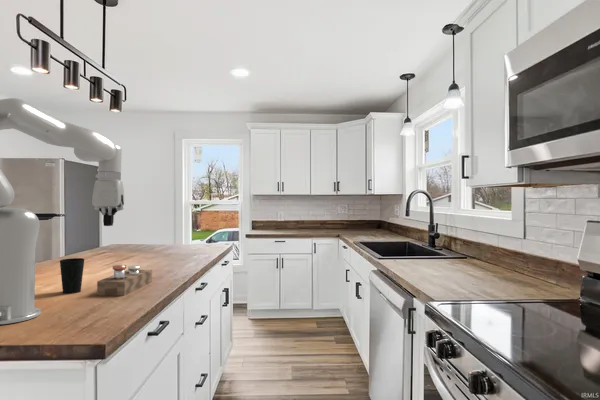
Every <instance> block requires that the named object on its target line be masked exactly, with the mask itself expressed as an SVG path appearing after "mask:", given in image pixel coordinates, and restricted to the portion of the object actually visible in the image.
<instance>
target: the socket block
mask: <svg viewBox="0 0 600 400" xmlns="http://www.w3.org/2000/svg"><path fill="white" fill-rule="evenodd" d="M152 282H153V269H139V273H137V274H131V273H129V270H128V269H127V270H125V279H122V280H114V274H113V275H111V276H108V277H105V278H102V279H99V280H97V283H96V284H97V285H96V286H97V287H96V288H97V289H96V296H121V297H122V296H126V295H129V294H131V293H133V292H135V291H137V290H139V289H141V288H143V287H145V286H146V285H148V284H150V283H152ZM144 285H145V286H144Z"/></svg>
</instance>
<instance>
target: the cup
mask: <svg viewBox="0 0 600 400" xmlns="http://www.w3.org/2000/svg"><path fill="white" fill-rule="evenodd" d="M84 266H85V258H83V257H82V258H81V257H79V258H78V257H73V258H72V257H71V258H65V259H60V260H59V267H60V275H61V276H60V277H61V287H62V288H61V289H62V293H63V294H64V295H72V294H77V293H80V292H81V291H82V285H83V284H82V282H83V276H84V275H83V273H84Z"/></svg>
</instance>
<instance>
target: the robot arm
mask: <svg viewBox="0 0 600 400" xmlns="http://www.w3.org/2000/svg"><path fill="white" fill-rule="evenodd" d="M11 129H13V130H16V131H18V132H21V133H23V134H26V135H28V136H29V137H33V138H34V139H36V140H39V141H41V142H43V143H45V144H47V145H50V146H56V147H65V148H71V149H73V153H74V155H75V157H76V158H77V159H79V160H80V161H82V162H86V163H87V162H89V163H90V162H93V163H94V162H97V163H98V170H97V171H98V172H97V173H96V174H95V178H97V180H96V179H95V182H94V185H93V190H92V199H91V200H92V202H91V204H92V206H93V209H94V210H95V211H98V212H100V213H101V216H103V220H102V221H103V222H102V223H103V226H104V227H112V226H114V219H115V218H114V217H115V215H116V213H118V212H119V211H123V210H124V205H125V188H124V184H123V181H122V180H121V179H122V155H123V154H122V151H123V150H122V147H121V146H119V145H117V144H114V143H113V141H112V140H110V139H108V138H107V137H105V136H104V135H101V134H100V133H98V132H96V131H94V130H91V129H89V128H86V127H83V126H79V125H76V124H73V123H70V122H66V121H63V120H61V119H59V118H57V117H55V116H54V115H51V114H49V113H48V112H46V111H44V110H42V109H41V108H39V107H37V106H35V105H33V104H31V103H30V102H27V101H25V100H23V99H19V98H16V97H11V98H10V97H9V98H3V99H0V131H2V130H11ZM15 196H16V195H15V190H14V188H13V186H12V184H11V183H10V181H9V180H8V178H7V177H6V175H5V174H4V172H3V170H2V169H1V168H0V325H8V324H13V323H14V324H17V323H19V322H24V321H28V320H31V319H33V318H36V317H38V316H40V314H41V313H42V308H39V307H36V306H35V302H36V301H35V300H36V299H35V295H36V293H35V292H36V290H35V286H36V249H37V248H36V247H37V246H36V245H37V240H38V238H39V233H40V228H41V227H40V226H41V225H40V224H41V223H40V220H39V217H38V216H37V215H36V214H35V213H34V212H33V211H31V210H29V209H26V208H22V207H9V205H11V203H13V202H14V200H15ZM7 206H8V207H7Z"/></svg>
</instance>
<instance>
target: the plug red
mask: <svg viewBox="0 0 600 400" xmlns="http://www.w3.org/2000/svg"><path fill="white" fill-rule="evenodd" d="M126 269H127V264H115V265H112V270H113V275H114V280H122V279H125V271H126Z"/></svg>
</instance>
